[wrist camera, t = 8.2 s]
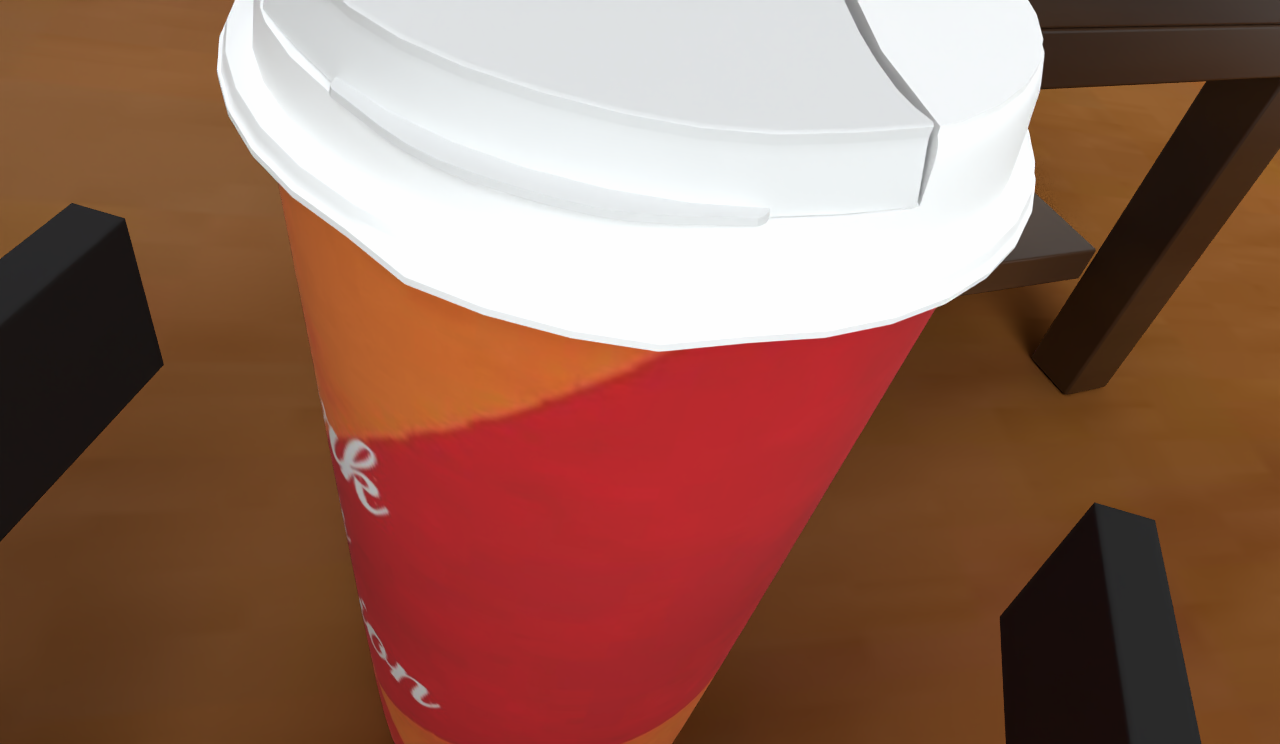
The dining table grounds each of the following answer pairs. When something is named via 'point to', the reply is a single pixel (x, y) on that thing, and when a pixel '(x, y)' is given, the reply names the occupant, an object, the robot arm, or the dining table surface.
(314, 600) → the dining table surface
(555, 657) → the paper cup
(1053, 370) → the rack
